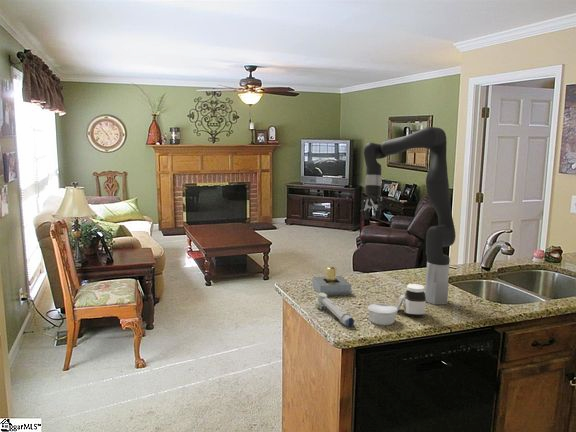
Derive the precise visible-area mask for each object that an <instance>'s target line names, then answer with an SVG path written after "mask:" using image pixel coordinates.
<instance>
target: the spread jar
mask: <svg viewBox="0 0 576 432" xmlns="http://www.w3.org/2000/svg"><path fill="white" fill-rule="evenodd" d="M402 304H403V310H404V311H403V312H404V315H406V316H407V315H408V316H407V317H410V316H411V318H421V317H424V316H425V314H426V306H427V305H426V304H427V302H426V296H425V285H422V284H418V283H408V284H407V285H406V290H405V293H404V294H400V296H399V298H398V299H397V301H396V304H395V305H394V307H396V308H397V312H398V311H400V308H401V306H402Z"/></svg>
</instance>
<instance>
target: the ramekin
mask: <svg viewBox="0 0 576 432" xmlns="http://www.w3.org/2000/svg"><path fill="white" fill-rule="evenodd" d="M367 311H368V319H369V320H370V322H371V323H372V324H375V325H378V326H389V325H390V326H391V325H393V324H394V323H395V321H396V317H397V313H398V311H397V308H396V307H395V305H391V304H387V303H381V302H379V303H372V304H369V305H368V306H367Z"/></svg>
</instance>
